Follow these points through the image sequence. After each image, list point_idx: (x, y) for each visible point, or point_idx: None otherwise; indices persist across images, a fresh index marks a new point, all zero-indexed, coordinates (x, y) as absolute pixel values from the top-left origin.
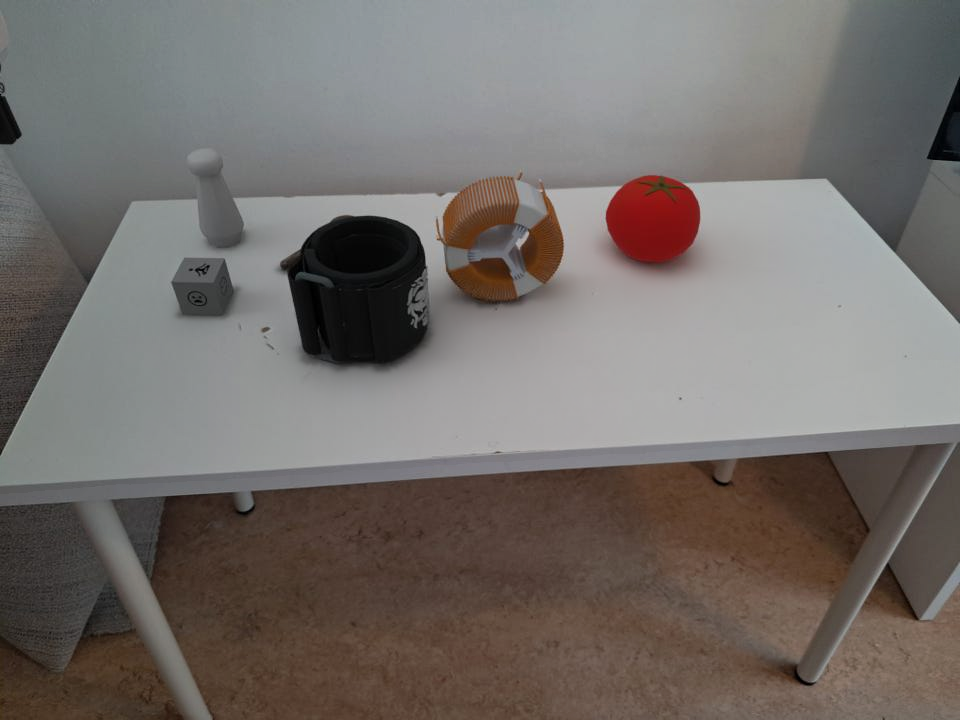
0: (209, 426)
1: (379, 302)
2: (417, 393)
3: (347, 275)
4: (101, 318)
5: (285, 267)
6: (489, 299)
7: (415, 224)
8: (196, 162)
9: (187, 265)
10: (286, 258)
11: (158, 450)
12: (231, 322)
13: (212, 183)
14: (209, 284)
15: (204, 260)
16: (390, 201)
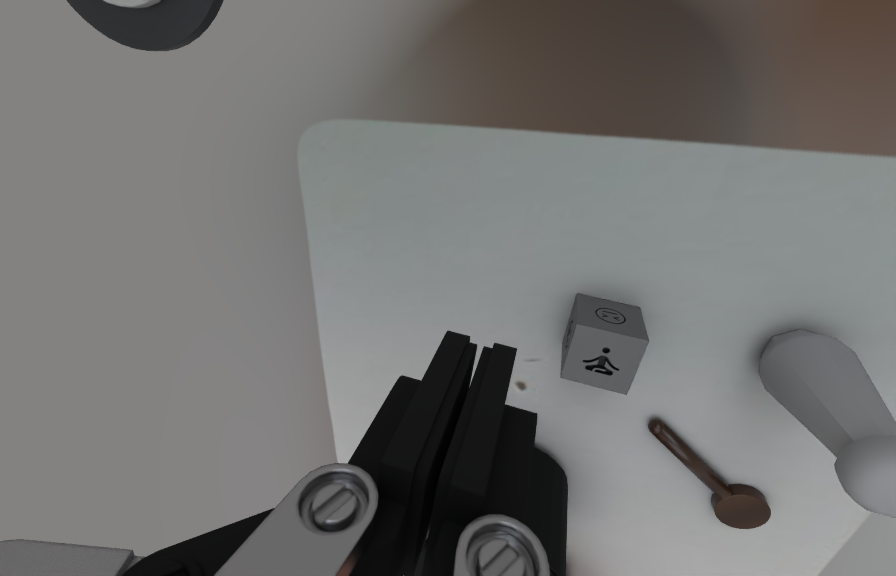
0: (370, 326)
1: None
2: None
3: (419, 563)
4: (599, 174)
5: (649, 426)
6: None
7: (716, 566)
8: (865, 476)
9: (620, 345)
10: (663, 435)
11: (339, 281)
12: (544, 351)
13: (830, 448)
14: (562, 370)
15: (628, 369)
16: (804, 563)
